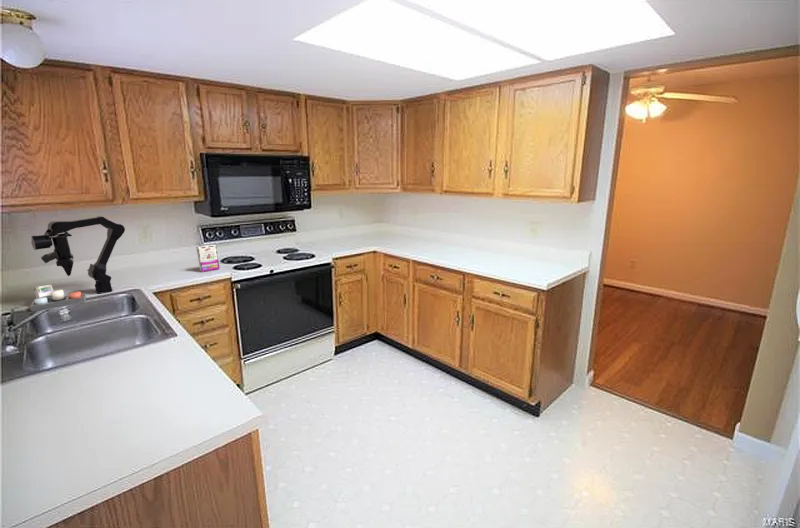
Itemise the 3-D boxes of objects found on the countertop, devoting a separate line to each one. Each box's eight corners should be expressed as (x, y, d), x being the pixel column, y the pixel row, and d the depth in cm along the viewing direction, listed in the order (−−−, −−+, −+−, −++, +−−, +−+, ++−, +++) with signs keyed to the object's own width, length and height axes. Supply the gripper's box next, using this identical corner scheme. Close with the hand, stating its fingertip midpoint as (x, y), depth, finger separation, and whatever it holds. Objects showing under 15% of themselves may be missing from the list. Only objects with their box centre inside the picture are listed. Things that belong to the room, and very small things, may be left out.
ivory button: (65, 296, 191) (63, 289, 190) (64, 299, 188) (62, 291, 187) (53, 298, 189) (51, 290, 188) (52, 301, 185) (50, 293, 184)
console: (86, 297, 198) (85, 292, 198) (85, 302, 191) (83, 297, 190) (34, 305, 187) (33, 300, 186) (31, 311, 179) (29, 306, 179)
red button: (82, 298, 196) (80, 290, 195) (82, 300, 192) (80, 293, 191) (71, 300, 193) (69, 292, 192) (70, 302, 189) (68, 295, 188)
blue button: (49, 303, 188) (47, 296, 187) (48, 306, 184) (46, 298, 184) (36, 306, 185) (34, 298, 184) (35, 308, 182) (33, 300, 181)
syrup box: (48, 287, 198) (51, 283, 189) (51, 297, 199) (54, 294, 189) (33, 290, 194) (35, 286, 184) (37, 301, 194) (39, 297, 185)
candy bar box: (217, 267, 254) (214, 244, 250) (219, 269, 251) (216, 245, 246) (199, 271, 247) (195, 246, 243) (201, 272, 243) (197, 247, 239)
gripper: (41, 245, 192) (49, 274, 196) (38, 251, 178) (47, 282, 182) (69, 242, 199) (76, 270, 203) (69, 248, 185) (76, 278, 189)
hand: (69, 275), depth 194 cm, fingers closed
